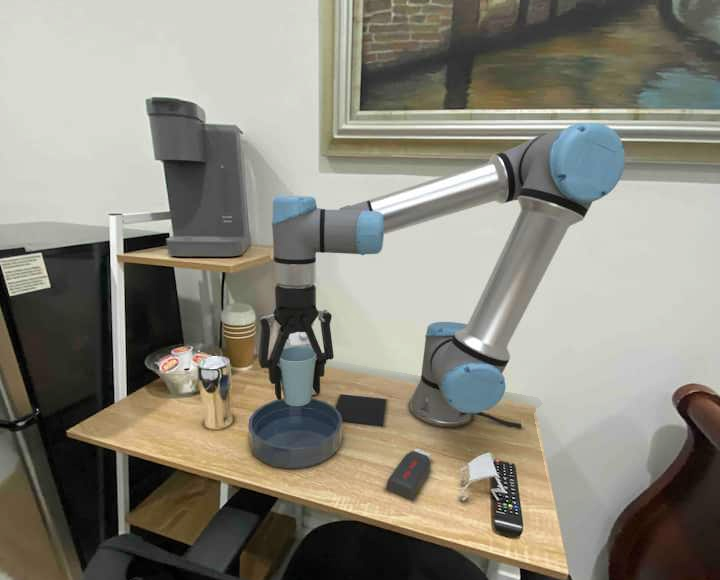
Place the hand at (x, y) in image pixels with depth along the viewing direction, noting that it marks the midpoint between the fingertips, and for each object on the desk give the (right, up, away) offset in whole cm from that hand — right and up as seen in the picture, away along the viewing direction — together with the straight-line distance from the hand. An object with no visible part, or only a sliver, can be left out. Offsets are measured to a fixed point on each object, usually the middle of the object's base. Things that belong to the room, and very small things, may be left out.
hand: (297, 393), depth 80 cm
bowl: (-1, -11, +4) cm, 11 cm away
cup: (0, -2, +1) cm, 2 cm away
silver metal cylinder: (-19, -8, +9) cm, 23 cm away
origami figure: (+36, -17, -6) cm, 40 cm away
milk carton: (-3, -3, +24) cm, 25 cm away
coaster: (+13, -7, +17) cm, 22 cm away
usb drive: (+23, -16, -5) cm, 28 cm away
